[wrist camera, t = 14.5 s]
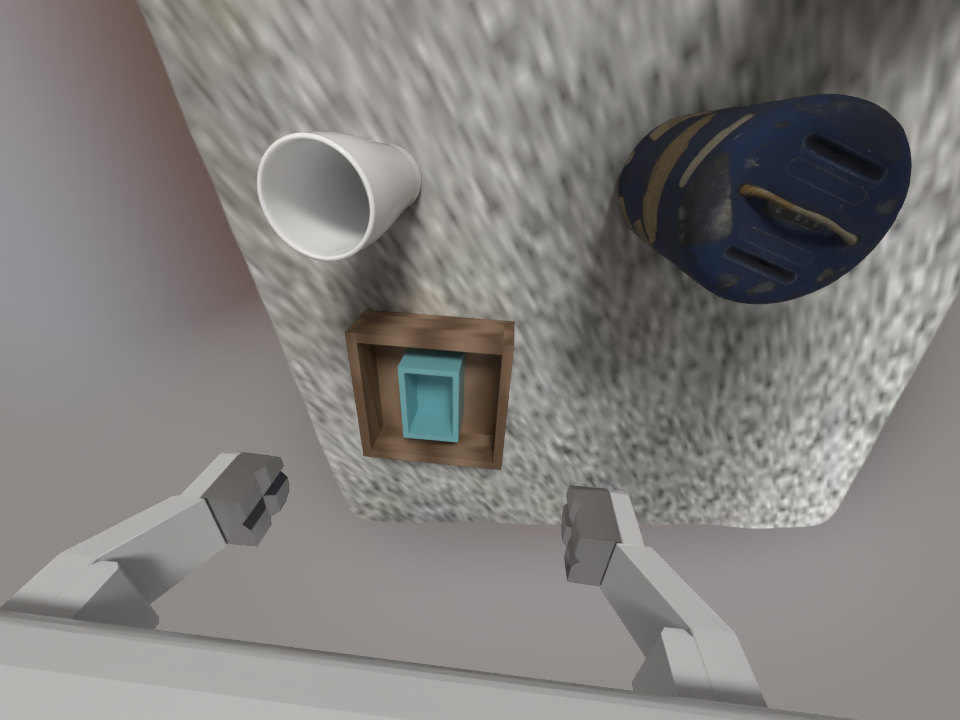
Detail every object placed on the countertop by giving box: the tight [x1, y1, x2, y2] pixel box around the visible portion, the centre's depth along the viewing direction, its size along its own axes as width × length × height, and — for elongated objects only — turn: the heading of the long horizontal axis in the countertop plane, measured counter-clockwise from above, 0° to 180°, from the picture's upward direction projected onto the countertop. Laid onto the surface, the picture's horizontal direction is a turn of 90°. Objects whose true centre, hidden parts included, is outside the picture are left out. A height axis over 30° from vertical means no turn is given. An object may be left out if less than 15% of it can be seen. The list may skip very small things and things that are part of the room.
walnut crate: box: [345, 310, 515, 470], centre depth 42 cm, size 16×16×6 cm
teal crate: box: [398, 347, 465, 442], centre depth 41 cm, size 6×9×5 cm, turn 178°
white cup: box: [257, 131, 421, 261], centre depth 27 cm, size 7×7×15 cm
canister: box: [619, 94, 912, 304], centre depth 24 cm, size 10×10×18 cm
